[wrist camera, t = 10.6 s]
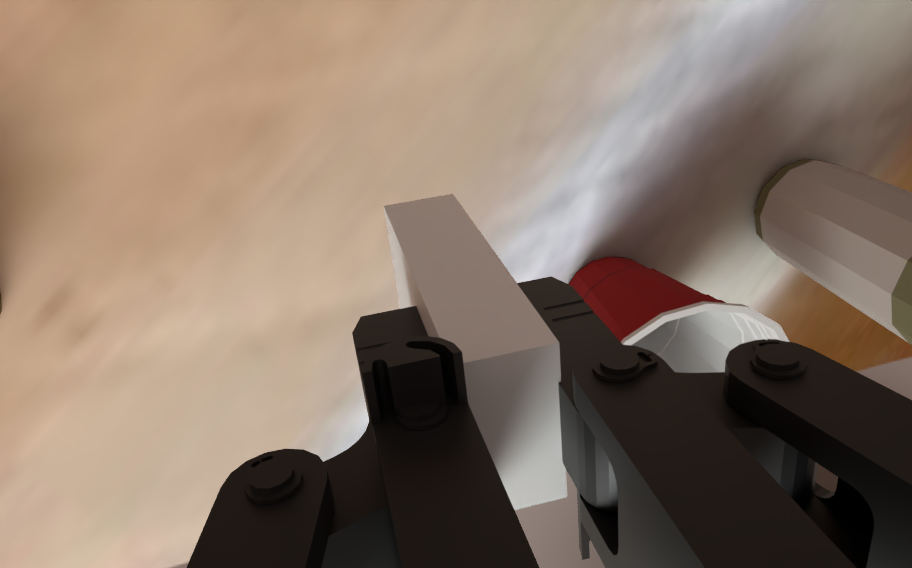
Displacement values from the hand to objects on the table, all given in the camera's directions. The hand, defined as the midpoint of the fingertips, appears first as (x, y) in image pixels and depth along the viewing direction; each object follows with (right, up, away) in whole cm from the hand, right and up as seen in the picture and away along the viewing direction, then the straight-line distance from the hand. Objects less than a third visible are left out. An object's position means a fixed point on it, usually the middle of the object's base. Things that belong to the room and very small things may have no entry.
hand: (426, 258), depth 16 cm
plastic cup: (+10, -1, +31) cm, 33 cm away
